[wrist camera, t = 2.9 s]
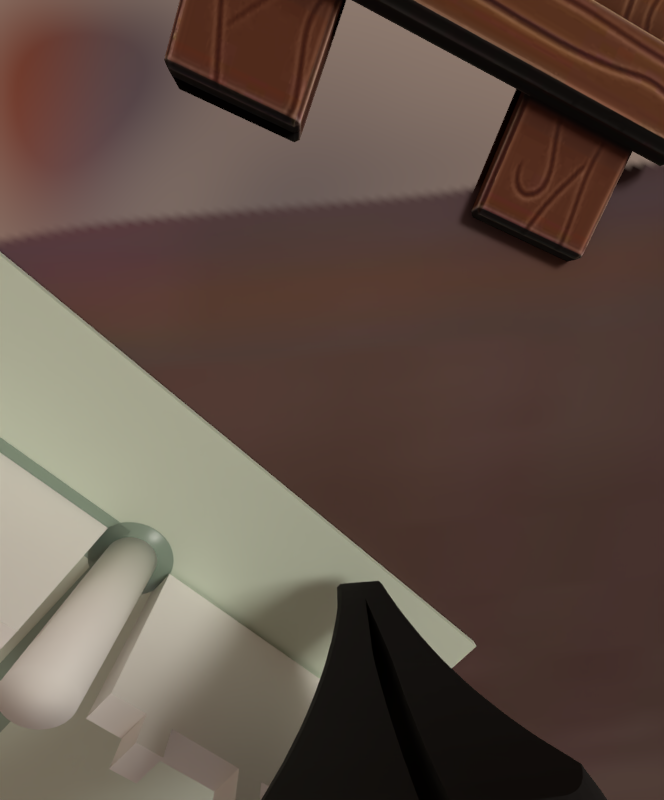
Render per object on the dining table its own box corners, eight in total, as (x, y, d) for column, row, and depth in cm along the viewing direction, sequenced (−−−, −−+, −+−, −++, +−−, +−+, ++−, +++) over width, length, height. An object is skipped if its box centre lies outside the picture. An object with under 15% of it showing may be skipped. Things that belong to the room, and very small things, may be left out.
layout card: (178, 907, 16) (177, 916, 16) (-454, 606, 11) (-470, 612, 11) (474, 641, 15) (476, 647, 14) (-123, 150, 10) (-133, 146, 9)
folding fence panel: (151, 592, 13) (70, 747, 8) (169, 573, 12) (97, 720, 8) (330, 713, 14) (345, 897, 10) (347, 698, 14) (370, 875, 10)
